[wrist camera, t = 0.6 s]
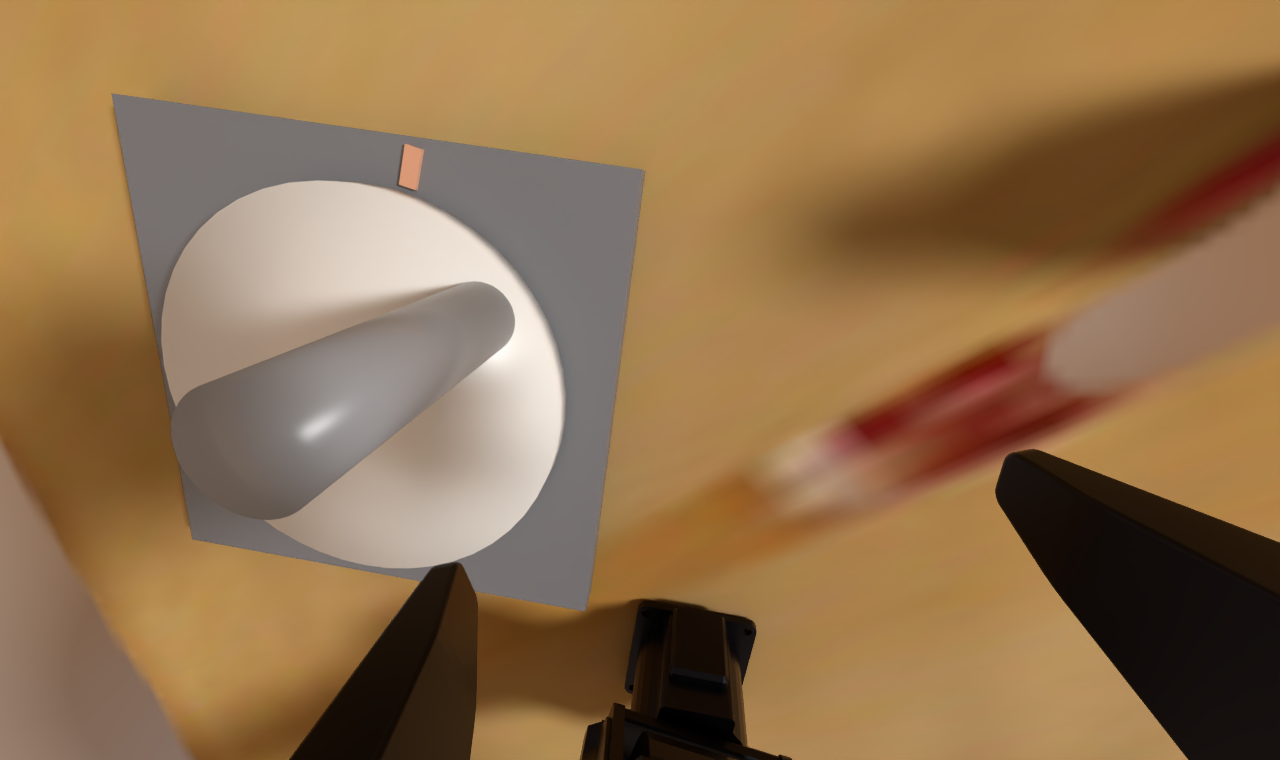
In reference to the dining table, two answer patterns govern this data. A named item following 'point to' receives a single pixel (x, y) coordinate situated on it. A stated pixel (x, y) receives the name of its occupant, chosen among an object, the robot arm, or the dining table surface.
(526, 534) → the dial board
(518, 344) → the dial
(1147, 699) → the robot arm
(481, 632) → the dining table surface
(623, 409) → the dining table surface
